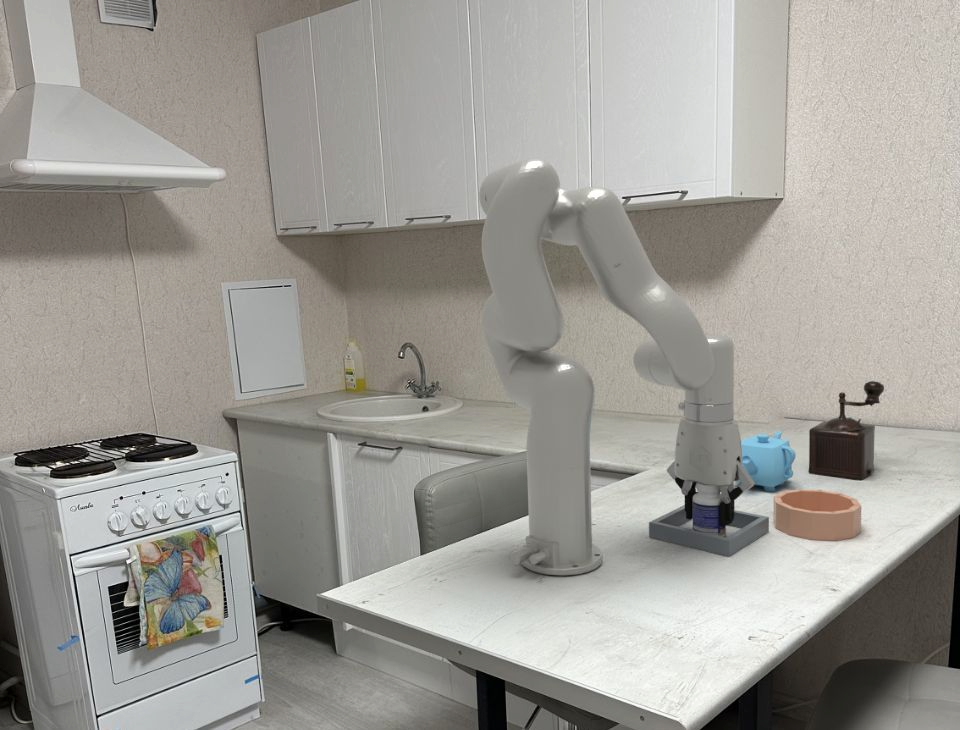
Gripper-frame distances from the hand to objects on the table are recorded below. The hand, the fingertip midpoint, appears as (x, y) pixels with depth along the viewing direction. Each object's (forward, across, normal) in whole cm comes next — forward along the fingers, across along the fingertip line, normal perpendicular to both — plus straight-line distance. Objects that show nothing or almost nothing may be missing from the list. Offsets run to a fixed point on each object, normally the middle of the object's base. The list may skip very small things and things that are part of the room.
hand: (709, 519), depth 130 cm
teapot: (+3, -6, +32) cm, 33 cm away
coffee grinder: (+3, +3, +53) cm, 53 cm away
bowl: (+2, +12, +14) cm, 19 cm away
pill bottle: (+3, 0, 0) cm, 3 cm away
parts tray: (+2, 0, 0) cm, 2 cm away
